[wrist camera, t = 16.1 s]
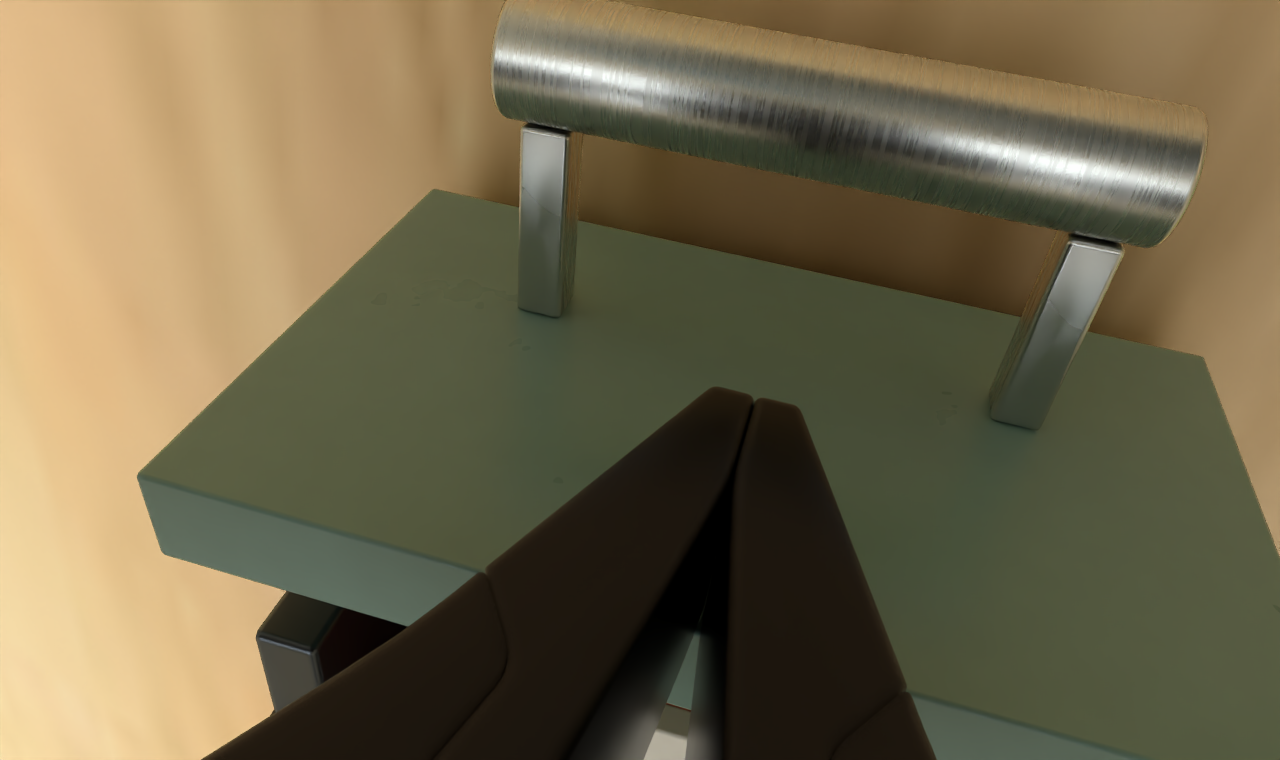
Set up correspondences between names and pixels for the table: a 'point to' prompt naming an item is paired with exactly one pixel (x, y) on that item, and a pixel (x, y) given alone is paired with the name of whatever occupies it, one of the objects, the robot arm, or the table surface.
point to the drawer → (776, 391)
